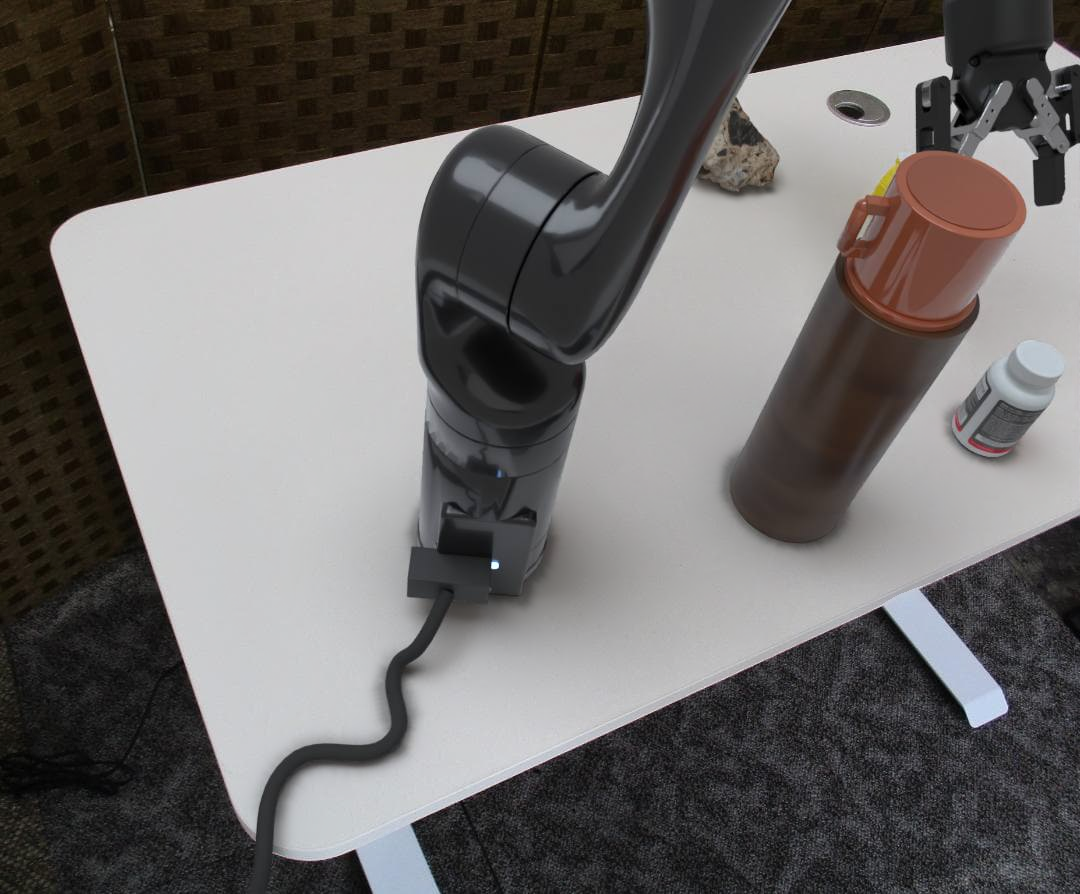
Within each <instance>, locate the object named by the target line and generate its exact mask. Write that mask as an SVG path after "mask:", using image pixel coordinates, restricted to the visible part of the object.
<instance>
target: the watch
mask: <svg viewBox="0 0 1080 894" xmlns="http://www.w3.org/2000/svg"><path fill="white" fill-rule="evenodd" d="M912 154H914V153H913V152H910V151H903V152H900V153H899V154H898V155H897V157H896V159H895V165H894V166H893V167H891V168H890V169H889V170H888V171H887V172H886V174H884V175H883V177H882V178H881V179H880V180H879V182H878V183H877V185H876V186H875V189H874V190H873V192H872V194H871V195H874V196H882V197H883V195H884V193H885V191H886V189H887V187H888V185H889V183H890V181H891V179H892V177H893V175H894V173H895V171H896V169H897V167H898V165H899V164H900V163H901V162H902V161H903V160H904V159H905V158H907V157H908V156H910V155H912Z"/></svg>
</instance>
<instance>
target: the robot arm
mask: <svg viewBox="0 0 1080 894" xmlns="http://www.w3.org/2000/svg"><path fill="white" fill-rule="evenodd" d="M791 2H792V0H645V17H646V18H645V19H646V23H645V25H646V31H645V32H646V46H645V59H644V71H643V80H642V88H641V92H640V97H639V101H638V105H637V109H636V112H635V115H634V118H633V121H632V124H631V126H630V130H629V132H628V134H627V138H626V140H625V143H624V145H623V147H622V149H621V151H620V154H619V156H618V158H617V160H616V162H615V164H614V166H613V168H612V170H611V171H610V173H609V174H606V173H604V172H603V171H601V170H599V169H598V168H595V167H594V166H591V165H589V164H588V163H586V162H584V161H582V160H580V159H578V158H577V157H575V156H573V155H570V154H569V153H566V152H565V151H563V150H561V149H559V148H558V147H556V146H554V145H552V144H550V143H548V142H546V141H544V140H542V139H540V138H538V137H536V136H534V135H532V134H530V133H528V132H526V131H524V130H522V129H520V128H517V127H514V126H511V125H508V124H489V125H486V126H483V127H479V128H478V129H475V130H473V131H472V132H470V133H469V134H467V135H466V136H464V137H463V138H462V139H461V140H460V141H458V143H457V144H456V145H454V147H453V148H452V149H451V150H450V151H449V153H448V154H447V155H446V157H445V158H444V160H443V161H442V163H441V164H440V166H439V167H438V170H437V171H436V173H435V175H434V177H433V179H432V181H431V183H430V185H429V187H428V191H427V193H426V196H425V199H424V203H423V206H422V209H421V213H420V218H419V222H418V227H417V233H416V241H415V253H414V254H415V255H414V290H415V312H416V313H415V315H416V317H415V318H416V341H417V342H416V347H417V349H416V351H417V358H418V362H419V365H420V369H421V371H422V373H423V374H424V376H425V378H426V395H425V396H426V397H425V409H424V425H423V426H424V427H423V428H424V429H423V443H422V463H421V477H420V478H421V479H420V480H421V481H420V496H419V497H420V498H419V516H418V520H417V526H416V527H417V528H416V541H417V546H415V545H413V546H411V547H410V557H409V563H408V571H407V572H408V573H407V582H406V598H413V599H414V598H415V599H427V600H434V603H433V604H432V606H431V608H430V611H429V613H428V614H427V617H426V619H425V621H424V623H423V625H422V627H421V629H420V630H419V632H418V633H417V635H416V636H415V638H414V639H413V640H412V642H411V643H410V644H409V645H407V646H406V647H404V648H403V649H402V650H400V651H398V652H397V653H396V654H395V655H394V656H393V657H392V659H391V660H390V662H389V664H388V667H387V670H386V673H385V679H384V681H385V683H384V685H385V694H386V700H387V703H388V707H389V712H390V718H391V725H390V728H389V731H388V732H387V733H386V734H385V735H384V736H383V737H382V738H381V739H379V740H377V741H375V742H372V743H368V744H367V743H366V744H347V743H335V742H334V743H331V742H329V743H328V742H324V743H323V742H321V743H313V744H309V745H308V744H307V745H304V746H302V747H300V748H297V749H295V750H293V751H292V752H291V753H289V754H288V755H287V756H286V757H284V758H283V759H282V761H280V763H278V765H277V766H276V767H275V768H274V770H273V771H272V773H271V774H270V776H269V778H268V780H267V782H266V784H265V786H264V789H263V791H262V794H261V796H260V801H259V805H258V809H257V810H258V811H257V818H256V829H255V843H254V844H255V845H254V857H253V866H252V872H251V876H250V882H249V885H248V890H247V894H267V890H268V886H269V881H270V875H271V870H272V862H273V853H274V835H275V834H274V832H275V821H276V819H275V818H276V811H277V806H278V805H277V804H278V800H279V797H280V795H281V792H282V789H283V787H284V785H285V784H286V783H287V781H288V779H290V777H291V776H292V775H293V774H294V773H295V772H296V770H298V769H299V768H301V767H302V766H304V765H307V764H308V763H312V762H317V761H336V762H354V763H355V762H357V763H358V762H362V763H363V762H370V761H375V760H379V759H381V758H383V757H385V756H387V755H388V754H390V753H391V752H393V751H394V750H395V749H396V748H397V747H398V746H399V745H400V743H401V741H402V740H403V739H404V736H405V735H406V731H407V728H408V712H407V707H406V703H405V699H404V695H403V691H402V676H403V672H404V670H405V669H406V667H407V666H408V665H409V664H411V663H412V662H415V661H416V660H417V659H419V658H420V657H421V656H422V655H423V654H424V653H425V652H426V650H427V649H428V648H429V646H430V645H431V643H432V642H433V640H434V638H435V637H436V635H437V633H438V630H439V629H440V628H441V625H442V623H443V621H444V619H445V617H446V614H447V612H448V610H449V608H450V606H451V604H452V602H460V603H470V604H480V605H487V604H488V600H489V597H490V596H489V595H490V594H496V595H507V596H521V595H522V591H523V589H524V588H523V587H524V582H525V580H527V579H528V578H529V577H531V575H532V574H533V573H534V572H536V570H537V568H538V567H539V565H540V563H541V562H542V559H543V557H544V554H545V550H546V547H547V539H548V532H549V528H550V525H551V520H552V516H553V512H554V508H555V506H556V505H555V504H556V500H557V496H558V493H559V488H560V484H561V481H562V476H563V473H564V469H565V466H566V462H567V458H568V454H569V450H570V449H569V448H570V445H571V442H572V439H573V434H574V431H575V426H576V424H577V418H578V415H579V412H580V407H581V405H582V399H583V395H584V392H585V388H586V382H587V363H586V362H587V360H588V359H589V358H591V357H592V356H594V355H595V354H596V353H597V352H598V351H599V350H601V349H602V347H603V346H604V345H605V344H606V343H607V342H608V340H609V339H610V338H611V336H612V335H613V334H614V333H615V332H616V330H617V328H618V327H619V326H620V324H621V323H622V322H623V320H624V318H625V317H626V315H627V314H628V312H629V311H630V309H631V307H632V306H633V303H634V302H635V301H636V299H637V296H638V295H639V294H640V291H641V289H642V287H643V285H644V283H645V281H646V279H647V277H648V275H649V273H650V272H651V270H652V268H653V266H654V264H655V262H656V260H657V258H658V256H659V254H660V252H661V250H662V248H663V246H664V244H665V242H666V240H667V237H668V235H669V234H670V231H671V229H672V227H673V225H674V223H675V221H676V219H677V217H678V215H679V213H680V211H681V209H682V207H683V205H684V202H685V200H686V199H687V196H688V195H689V192H690V190H691V188H692V186H693V185H694V182H695V180H696V178H697V177H696V176H697V174H698V172H699V170H700V168H701V166H702V164H703V162H704V160H705V158H706V155H707V153H708V151H709V149H710V147H711V145H712V143H713V141H714V139H715V137H716V135H717V133H718V131H719V129H720V127H721V125H722V123H723V121H724V119H725V117H726V115H727V113H728V111H729V109H730V107H731V105H732V103H733V102H734V100H735V98H736V97H737V96H738V94H739V92H740V91H741V88H742V87H743V85H744V83H745V82H746V80H747V78H748V77H749V75H750V72H751V71H752V69H753V67H754V66H755V64H756V62H757V60H758V59H759V57H760V56H761V54H762V52H763V50H764V49H765V47H766V45H767V44H768V42H769V40H770V38H771V36H772V35H773V33H774V31H775V30H776V28H777V26H778V25H779V23H780V21H781V19H782V17H783V16H784V14H785V12H786V11H787V9H788V8H789V6H790V3H791ZM1053 5H1054V3H1053V0H942V16H943V37H944V38H943V39H944V56H945V63H946V64H947V66H948V67H949V68H951V71H952V73H951V77H950V78H949V77H948V76H947V75H941V76H936V77H934V78H931V79H928V80H924V81H922V82H919V83H917V85H916V86H915V89H914V91H915V93H914V94H915V95H914V96H915V101H914V102H915V153H918V152H923V151H948V152H954V153H958V154H962V155H965V156H968V157H971V158H973V156H974V154H975V153H976V151H977V148H978V147H979V144H980V143H981V142H982V141H983V140H985V139H986V138H987V137H988V136H989V134H990V133H996V132H999V133H1004V132H1005V133H1006V132H1011V131H1013V133H1014V135H1015V136H1016V137H1018V138H1019V139H1022V140H1024V141H1025V143H1026V145H1027V146H1028V148H1029V149H1030V150H1031V152H1032V153H1033V155H1034V156H1035V157H1036V158H1037V159H1036V158H1035V159H1032V179H1033V181H1032V182H1033V203H1034V205H1035V206H1036V207H1038V208H1039V207H1047V206H1056V205H1059V204H1062V202H1063V200H1064V196H1065V192H1066V177H1065V176H1066V166H1065V165H1066V164H1065V163H1066V161H1065V159H1066V158H1065V157H1066V154H1067V153H1068V151H1069V149H1071V148H1073V147H1074V146H1076V145H1078V144H1080V64H1079V63H1075V64H1072V65H1071V64H1070V65H1067V66H1063V67H1059V68H1057V69H1054V70H1050V68H1049V66H1048V63H1047V58H1046V56H1047V53H1048V51H1049V49H1050V48H1051V47H1052V46H1053V44H1054V41H1055V35H1054V33H1055V32H1054V6H1053ZM952 104H953V105H954V106H955V107H956V109H957V110H956V112H955V114H954V116H953V117H951V115H952V114H951V113H952V111H951V110H952V107H951V106H952ZM1067 115H1068V119H1069V129H1067ZM1035 117H1036V118H1035Z"/></svg>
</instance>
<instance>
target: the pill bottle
mask: <svg viewBox="0 0 1080 894" xmlns="http://www.w3.org/2000/svg"><path fill="white" fill-rule="evenodd" d="M1066 365H1067V364H1066V362H1065V359H1064V357H1063V355H1062V354H1061V353H1060V352H1059V351H1058V350H1057V349H1055V347H1053V346H1051V345H1049V344H1048V343H1045V342H1044V341H1041V340H1035V339H1027V340H1023V341H1021V342H1019V343H1018V344H1017V345H1016V346H1015V347H1014V349H1013V350H1012V351H1011V352H1010V354H1009V355H1004V356H1001V357H998V358H997V359H996V360H994V361H993V362H992V363H991V364H990V366H988V368H987V370H986V371H985V372H984V374H983V375H982V376H981V378H980V379H979V380H978V382H977V383H976V384H975V386H974V388H973V389H972V390H971V391H970V393H969V394H968V395H967V397H966V398H965V399H964V401H963V402H962V403H961V404H960V406H959V407H958V409H957V411H956V412H955V413H954V415H953V417H952V421H951V427H952V431H953V434H954V437H956V439H957V440H958V441H959V442H960V444H961V445H963V446H964V447H965V448H966V449H968V450H969V451H971V452H974V453H975V454H976V455H980V456H984V457H988V458H998V457H1003V456H1004V455H1006V454H1008V453H1009V452H1010V451H1011V450H1012V449H1013V448H1015V446H1016V445H1017V443H1019V441H1020V440H1021V439H1022V438H1023V436H1024V435H1025V434H1026V433H1027V431H1029V429H1030V428H1031V427H1032V425H1034V423H1035V422H1036V421H1037V420H1038V419H1039V418H1040V416H1041V415H1042V414H1043V413H1044V412H1045V410H1046V409H1047V408H1048V407H1049V406H1050V404H1051V403H1052V401H1054V398H1055V397H1056V384H1057V383H1058V381H1059V380H1060V379H1061V377H1062V376H1063V374H1064V373H1065V371H1066Z"/></svg>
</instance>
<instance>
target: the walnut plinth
mask: <svg viewBox="0 0 1080 894" xmlns="http://www.w3.org/2000/svg"><path fill="white" fill-rule="evenodd" d="M861 238H862V236H861V237H857V238H856V239H857V240H860V239H861ZM845 259H846V257H843V256H842V253H841V252H840V251H839V252H838V255H837V256H836V258H835V261H834V262H833V265H832V267H831V268H830V270H829V273H828V275H827V277H826V279H825V281H824V283H823V285H822V286H821V289H820V291H819V293H818V295H817V297H816V299H815V302H814V304H813V305H812V307H811V309H810V311H809V314H808V316H807V317H806V320H805V321H804V324H803V326H802V327H801V330H800V332H799V334H798V336H797V338H796V340H795V342H794V344H793V346H792V349H791V350H790V352H789V354H788V356H787V358H786V360H785V362H784V365H783V366H782V368H781V370H780V373H779V374H778V377H777V379H776V380H775V383H774V385H773V387H772V389H771V391H770V393H769V394H768V397H767V399H766V401H765V403H764V405H763V407H762V410H761V411H760V413H759V415H758V418H757V420H756V421H755V423H754V426H753V427H752V430H751V432H750V434H749V436H748V437H747V440H746V442H745V444H744V445H743V448H742V450H741V452H740V454H739V456H738V458H737V460H736V462H735V464H734V467H733V468H732V470H731V474H730V477H729V491H730V494H731V495H730V496H731V498H732V502H733V504H734V506H735V507H736V509H737V510H738V512H739V513H740V515H741V516H742V517H743V519H744V520H745V521H746V522H747V523H749V525H751V526H752V527H753V528H754V529H756V530H758V531H759V532H761V533H762V534H764V535H766V536H768V537H770V538H773V539H776V540H778V541H783V542H787V543H795V544H796V543H798V544H799V543H809V542H814V541H816V540H819V539H821V538H823V537H825V536H826V535H827V534H829V533H830V532H831V531H832V530H833V529H834V528H835V527H836V526H837V524H838V522H839V521H840V520H841V518H842V517H843V515H844V513H845V512H846V511H847V509H848V508H849V506H851V504H852V502H853V501H854V499H855V498H856V496H857V495H858V494H859V492H860V491H861V489H862V487H863V486H864V485H865V483H866V481H867V480H869V478H870V476H871V474H872V473H873V471H874V470H875V468H876V467H877V465H878V464H879V463H880V461H881V460H882V458H883V457H884V455H885V454H886V453H887V451H888V450H889V448H890V447H891V445H892V444H893V442H894V441H895V440H896V438H897V437H898V435H899V433H900V432H901V430H902V429H903V428H904V426H905V425H906V423H907V422H908V421H909V420H910V418H911V416H912V415H913V413H915V411H916V409H917V407H918V406H919V404H920V403H921V401H922V400H923V399H924V397H925V395H927V393H928V392H929V390H930V388H931V387H932V386H933V384H934V383H935V381H936V379H937V378H938V377H939V375H941V373H942V371H943V369H945V367H946V365H947V364H948V362H949V361H950V360H951V358H952V356H953V355H954V353H955V352H956V351H957V349H958V347H960V345H961V343H962V342H963V340H964V339H965V337H966V336H967V335H968V333H969V332H970V331H971V329H972V328H973V326H974V324H975V323H976V321H977V320H978V317H979V315H980V309H981V303H980V296H979V292H978V293H977V298H976V304H975V306H974V308H973V310H972V312H971V313H970V315H969V316H968V318H967V319H966V320H965V321H964V322H963V323H961V324H960V325H958V326H956V327H954V328H952V329H949V330H945V331H939V332H921V331H915V330H910V329H906V328H902V327H900V326H897V325H894V324H892V323H890V322H887V321H885V320H884V319H882V318H880V317H878V316H877V315H875V314H874V313H872V312H871V311H870V310H868V309H867V308H866V307H865V306H863V305H862V304H861V303H860V302H859V301H858V299H857V298H856V297H855V296H854V295H853V293H852V292H851V290H850V289H849V287H848V284H847V282H846V279H845V276H844V263H845Z"/></svg>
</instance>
